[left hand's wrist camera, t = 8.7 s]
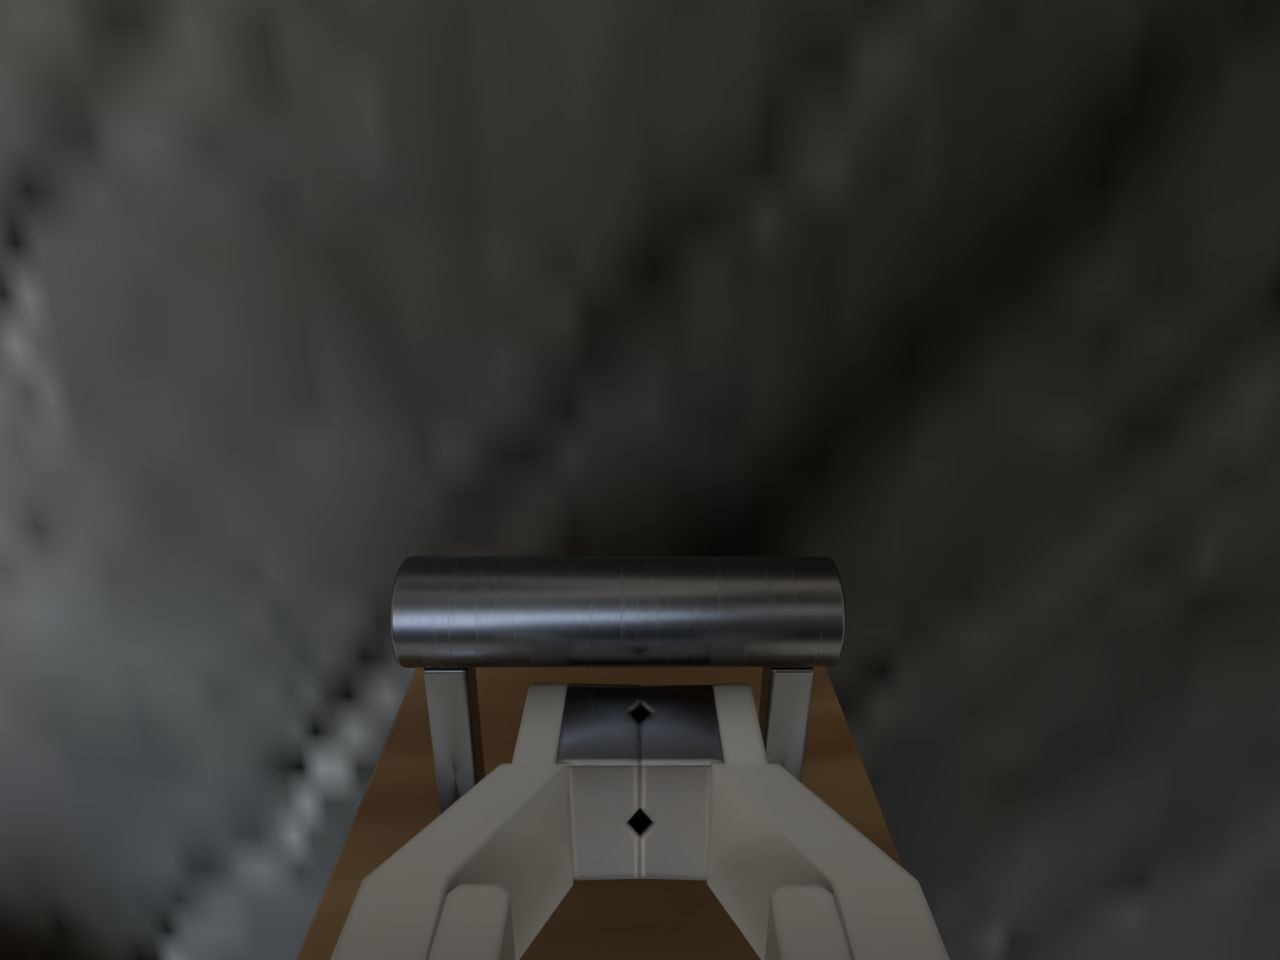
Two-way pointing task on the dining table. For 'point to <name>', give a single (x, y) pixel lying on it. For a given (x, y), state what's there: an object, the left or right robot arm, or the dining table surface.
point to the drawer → (601, 654)
